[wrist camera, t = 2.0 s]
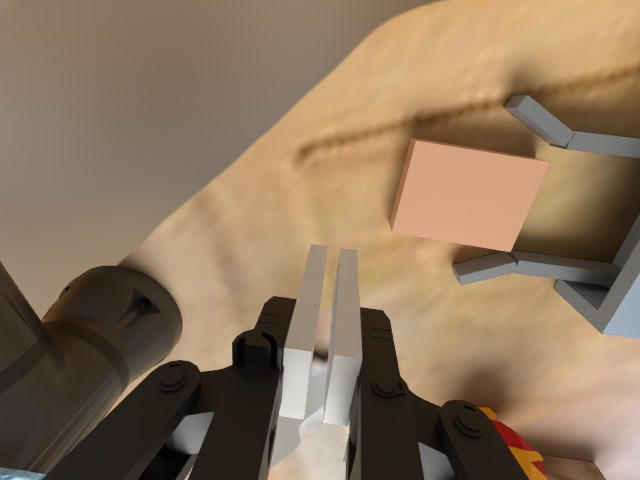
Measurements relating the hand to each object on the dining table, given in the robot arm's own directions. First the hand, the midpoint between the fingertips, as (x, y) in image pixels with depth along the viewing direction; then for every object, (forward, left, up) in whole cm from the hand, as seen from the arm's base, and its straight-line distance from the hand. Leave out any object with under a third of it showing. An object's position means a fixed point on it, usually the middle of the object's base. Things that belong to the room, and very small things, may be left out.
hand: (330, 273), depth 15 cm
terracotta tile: (+12, 0, -20) cm, 23 cm away
